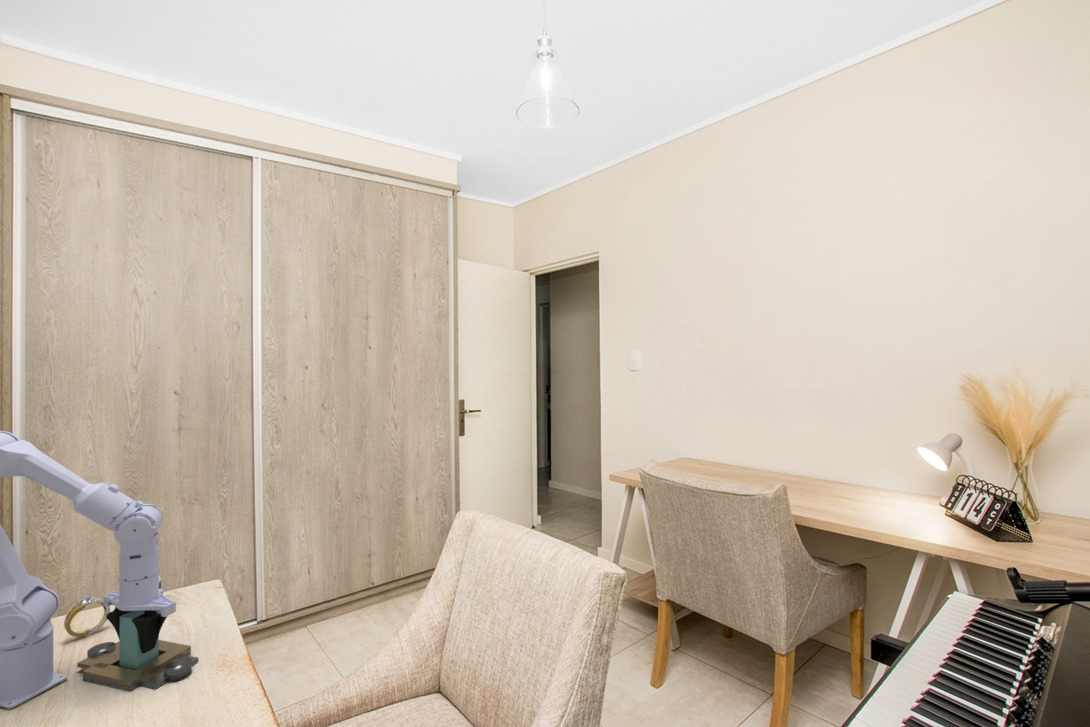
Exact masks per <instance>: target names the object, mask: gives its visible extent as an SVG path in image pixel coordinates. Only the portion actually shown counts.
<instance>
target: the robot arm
mask: <svg viewBox="0 0 1090 727" xmlns="http://www.w3.org/2000/svg"><path fill="white" fill-rule="evenodd" d="M7 477H9V478H10V477H11V478H12V477H24V478H26V479H29V480H30V481H32V482H35V483H37V484H39V485H40V486H43V487H44V488H46V489H49V490H51V491H53V492H55V493H58V494H59V495H61V496H64V497H65V498H67V499H69V500H71V501H72V504H73V509H74V510H73V511H74V512H75V513H78V514H80V515H81V516H83V517H85V518H86V519H88V520H91V521H92V522H94V523H96V524H97V525H100V526H101V527H103V528H105V529H107V530H109V531H112V532H113V536H114V539H115V541H116V542H117V543H118V544H119V555H118V556H119V557H118V558H119V561H118V562H119V565H118V568H119V569H118V572H119V573H118V578H119V579H118V591H117V590H114V591H112V592H109V593H107V594H105V595H103V599H104V606H110V607H111V606H114V609H113V610H112V611H110V613H108V614H107V615H106V618H107V621H109V623H110V624H111V625H112V627H113V629H114V630H115V632H116V635H117V638H118V640H119V641H120V616H122V615H124V614H126V613H128V612H130V611H144V614H142V615H140V616H138V617H136V618H134V619H132V622H133V623H134V625H135V627H136V629H137V632H138V635H139V644H140V649H141V652H142V653H146V652H148V651H150V650H152V649H154V648H155V646H156V642H157V639H158V636H159V637H160V632H161V630H162V627H163V625H164V623H165V621H166V619H167V618H168V617H169V616H170V615H172V614H174V613H176V612H177V610H176V609H177V601H175V600H171V599H170V598H169V597H166V596H165V595H163V594H164V592H165V590H164V589H163V588H161V589H159V576H160V543H159V542H160V541H159V540H160V538H159V536H160V532H158V530H159V529H160V528H161V525H162V523H163V520H164V518H163V513H162V512H161V509H159V508H158V507H157V506H156V505H155V504H152V503H151V504H150V503H144V502H143V501H141V500H137V501H136V500H135V499H133V498H131V497H130V496H128V495H126V494H125V493H123V492H121V491H119V489H120V486H118V485H116V484H115V483H111V484H110V485H109V484H107V483H105V482H100V483H99V482H98V483H89V482H88V481H87V480H85V479H84V478H82V477H81V476H79V475H77V474H76V473H74V472H73V471H71V470H70V469H68V468H67V467H65V466H64V465H62V464H60V463H59V462H57V461H56V460H54V459H53V458H51V457H50V456H48V455H47V454H46V453H44V452H43V451H40V450H39V449H38V448H37V447H36V446H35V445H34V444H32V443H31V442H29V441H27V440H25V439H20V438H19V437H18V436H17V435H16V434H14V433H12V432H9V431H6V430H5V431H4V430H0V478H7ZM59 606H60V597H59V595H58V594H57V592H55V591H54V590H52V589H50V588H48V587H47V586H46V585H45V584H44V583H43V582H42V579H41V578H40V577H36V576H33V575H30V574H29V573H28V571H27V569H26V568H25V566H24V563H22V561H21V559H20V556H19V555H18V552H16V549H15V548H14V546H13V544H12V543H11V540H10V539H9V536H8V535H7V533H6V532H5V529H4V527H3V526H2V524H1V523H0V707H2V708H6V709H8V710H9V709H10V710H11V709H14V708H15V707H17V706H19V705H21V704H23V703H25V702H27V701H28V700H30V699H32V698H35V697H37V696H39V695H40V694H41V693H43V692H45V691H48V690H49V689H51V688H53V687H55V686H57V685H59V684H60V683H62V682H64V681H65V680H67V679H68V676H67V675H64V674H60V673H55V672H54V625H53V623H52V621H51V619H52V617H53V615H54V614H55V613H56V612H57V610H59Z"/></svg>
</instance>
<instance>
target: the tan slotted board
mask: <svg viewBox="0 0 1090 727" xmlns="http://www.w3.org/2000/svg"><path fill="white" fill-rule="evenodd" d="M119 643H120V640H119V641H117V642H113V641H106V642H102V643H99V644H96V645H93V646H92V647H90V648H89V649H88V650H87V656H86V657H85V658H84V659H81V660H80V661H78V662H77V667H76V668H79V669H84V670H82V671H81V672H82V676H86V677H90V678H95V679H99V680H103V681H108V682H112V683H116V684H121V685H125V686H130V687H131V686H133V685H135V684H136V683H138V682H140V681H141V680H143V679H145V678H146V677H148V676H149V675H151V674H153V673H154V672H156V671H158V670H159V669H161V668H163V667H164V666H165V665H166V664H167V663H169V662H171V661H173V660H175V659H177V658H179V657H181V656H182V655H184V654H185V653H187V652H189V651H190V650H191V651H192V646H191V645H187V644H183V643H176V642H173V641H167V640H161V639H159V654H160V656H159V657H157V658H155V659H153V660H152V661H150V662H148V663H147V664H145V665H143V666H141V667H140V668H138V669H131V668H126V667H117V665H118V664H119ZM82 676H81V677H82Z"/></svg>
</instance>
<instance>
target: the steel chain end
mask: <svg viewBox="0 0 1090 727" xmlns="http://www.w3.org/2000/svg"><path fill="white" fill-rule="evenodd" d="M191 655H192V649H191V650H190V651H189V652H187V653H185V654H184V655H182V656H181V657H179V658H177V659H175V660H173V661H171V662H169V663H167V664H166V665H165V666H164V667H163V668H161V669H159V670H158V671H156V672H154V673H153V674H151V675H149V676H148V677H146V678H145V679H143V680H141V681H140V682H138V683H136V684H135V685H133V686H131V687H130V686H125V685H121V684H116V683H112V682H108V681H103V680H99V679H95V678H90V677H86V676H81V677H82V678H81V679H82V681H84V682H89V683H93V684H96V685H97V684H98V685H101V686H106V687H111V688H115V689H118V690H122V691H123V690H124V691H127V692H133V691H134V690H135V689H138V688H139V687H142V688H143V687H144V688H148V689H152V690H158V689H159V688H160V687H162V686H164V685H165V684H167V683H177V682H179V681H182V680H184V679H186V678H188V677H189V676H190V675H191V674H192V670H193V669H192V668H193V666H194V665H196V664H198V663H199V657H197V656H191ZM159 656H160V654H159ZM117 667H122V666H119V664H118V665H117ZM122 668H123V667H122Z"/></svg>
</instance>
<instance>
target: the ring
mask: <svg viewBox="0 0 1090 727" xmlns="http://www.w3.org/2000/svg"><path fill="white" fill-rule="evenodd" d="M93 603H94V604H98V605H101V606H102V608H103V616H102V618H101V620H100V621H99V623H98V624H97V625H96V626H94V627H92V628H91V629H89V628H88V629H85V630H84V631H80V632H79V631H78V632H77V631H74V630H72V627H71V623H72V621H73V619H74V617H76V615H77V614H79V612H81V611H82V610H84V609H85V608H86V606H89V605H90V604H93ZM110 607H111V605H110V606H104V598H97V594H94V596H92V595H91V596H89V594H87V595H85V596H82V597H81V598H80V599H79V600H78V601H77V600H76V601H75V603H74V604H73V605H72V606H71V607H70V608H69V610H68V611H67V612H66V614H65V617H64V621H63V627H64V630H65V631H66V632H67V634H68V635H70V636H72V637H76V638H81V637H89V636H91V635H92V634H94V633H96V632H97V631H99V630H100V629H101V628H103V626H104V625H105V624H106V622H107V621H108V619H107V618H106V615H107V614H108V613H110V612H111V608H110Z"/></svg>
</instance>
